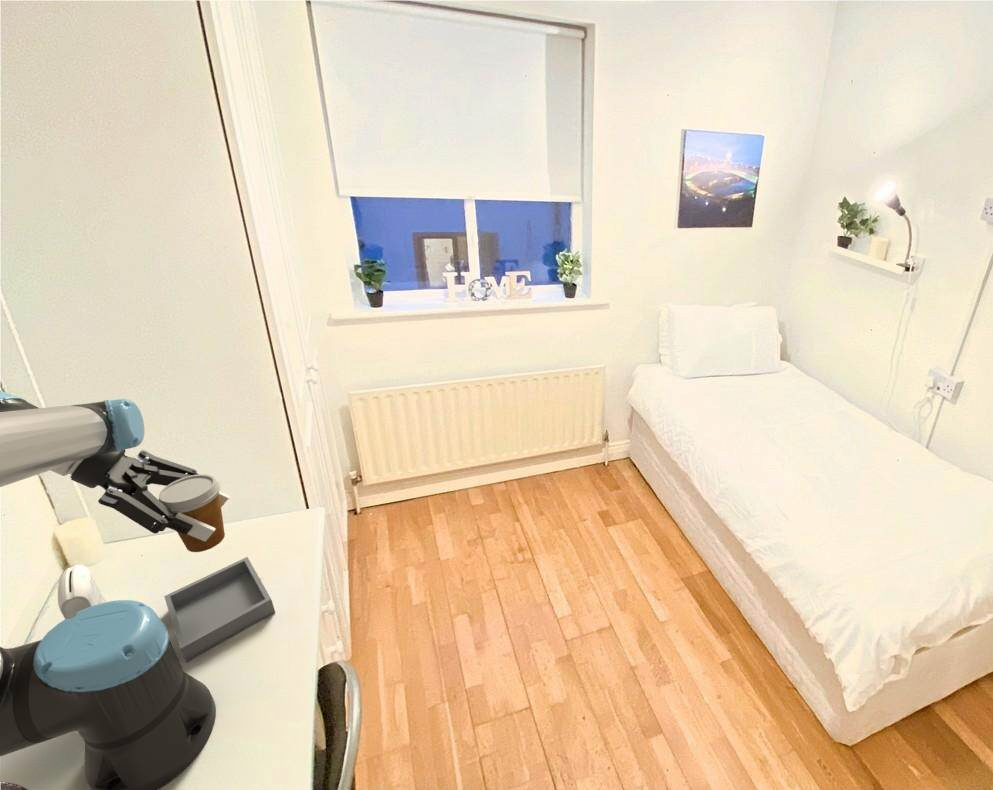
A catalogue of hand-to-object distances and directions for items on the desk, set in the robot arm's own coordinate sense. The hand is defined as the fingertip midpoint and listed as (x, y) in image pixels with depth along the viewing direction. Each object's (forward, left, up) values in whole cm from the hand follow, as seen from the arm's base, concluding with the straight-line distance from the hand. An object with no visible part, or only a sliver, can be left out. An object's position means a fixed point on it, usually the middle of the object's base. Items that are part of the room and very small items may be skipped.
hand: (218, 517), depth 84 cm
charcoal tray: (-4, +4, -17) cm, 18 cm away
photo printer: (+8, +22, -18) cm, 30 cm away
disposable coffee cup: (+1, +3, -5) cm, 6 cm away
